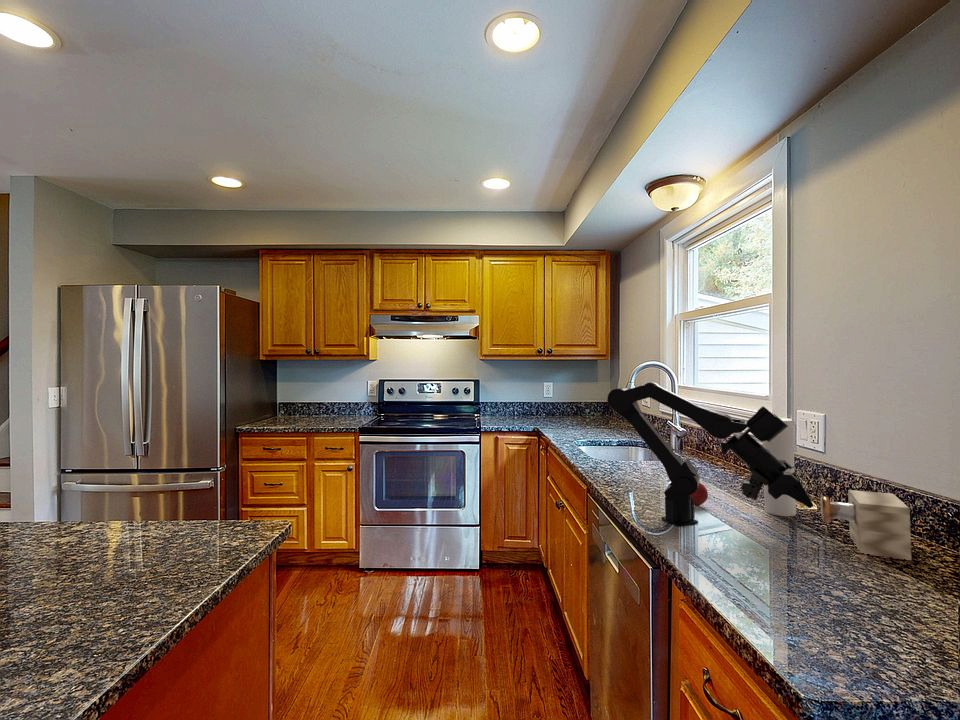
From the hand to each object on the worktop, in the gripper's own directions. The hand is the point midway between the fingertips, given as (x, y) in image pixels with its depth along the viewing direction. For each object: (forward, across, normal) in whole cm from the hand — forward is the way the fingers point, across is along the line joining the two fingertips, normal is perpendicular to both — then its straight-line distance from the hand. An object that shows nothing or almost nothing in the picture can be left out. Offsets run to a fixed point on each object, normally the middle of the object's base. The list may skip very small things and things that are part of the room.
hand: (811, 506), depth 108 cm
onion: (-13, -16, -23) cm, 31 cm away
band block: (+13, 0, +3) cm, 14 cm away
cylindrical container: (+2, -20, -9) cm, 22 cm away
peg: (+7, 0, +2) cm, 7 cm away
